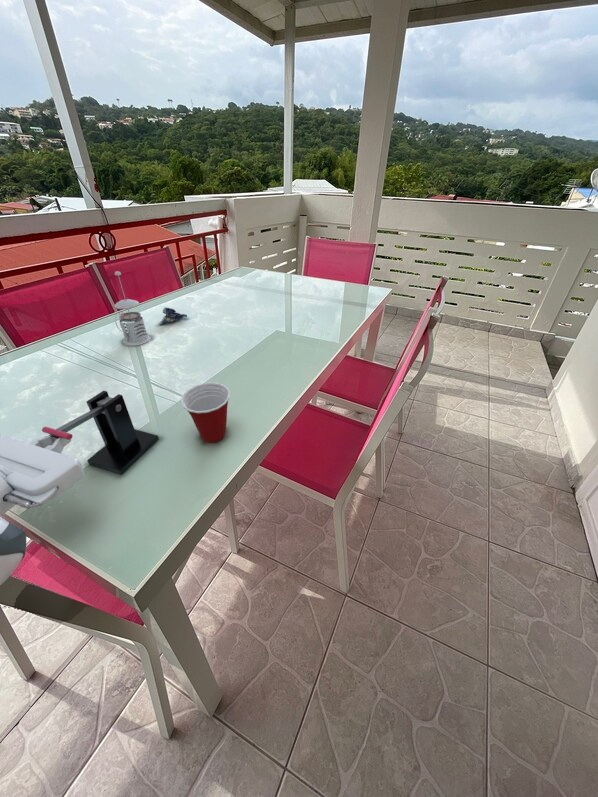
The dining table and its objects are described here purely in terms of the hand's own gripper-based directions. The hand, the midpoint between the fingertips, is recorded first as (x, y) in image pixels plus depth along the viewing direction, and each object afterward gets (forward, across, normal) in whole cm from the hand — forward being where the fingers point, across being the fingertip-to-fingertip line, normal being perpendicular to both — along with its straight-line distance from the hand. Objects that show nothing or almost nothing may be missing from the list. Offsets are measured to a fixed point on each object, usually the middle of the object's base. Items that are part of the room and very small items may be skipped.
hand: (64, 435), depth 61 cm
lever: (+5, 0, 0) cm, 5 cm away
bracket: (+10, 0, +13) cm, 16 cm away
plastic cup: (+22, -16, +13) cm, 30 cm away
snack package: (+81, +39, +13) cm, 91 cm away
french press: (+59, +40, +13) cm, 72 cm away
